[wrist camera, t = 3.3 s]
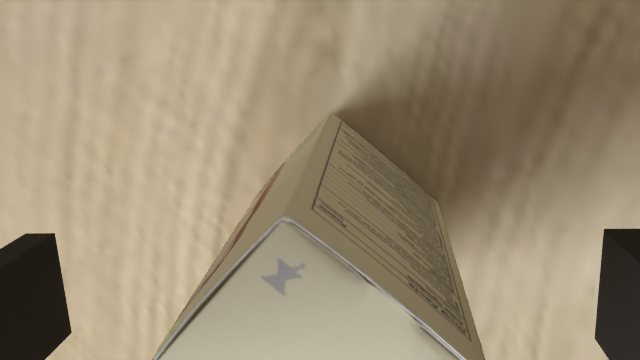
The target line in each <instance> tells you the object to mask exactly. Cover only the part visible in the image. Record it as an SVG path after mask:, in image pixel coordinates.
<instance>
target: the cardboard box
mask: <svg viewBox="0 0 640 360" xmlns="http://www.w3.org/2000/svg"><path fill="white" fill-rule="evenodd" d="M152 360H485V358H484V354H483V351H482V346H481V343H480V340H479V337H478V334H477V331H476V327H475V324H474V321H473V317H472V314H471V311H470V307H469V303H468V300H467V297H466V294H465V291H464V287H463V283H462V280H461V277H460V274H459V270H458V267H457V264H456V261H455V257H454V254H453V250H452V247H451V244H450V240H449V237H448V233H447V230H446V226H445V223H444V220H443V216H442V213H441V210H440V207H439V204H438V203H437V202H436V201H435V200H434V199H433V198H432V197H431V196H430V195H429V194H428V193H426V192H425V191H424V190H423V189H422V188H421V187H420V186H419V185H418V184H416V183H415V182H414V181H413V180H412V179H411V178H410V177H409V176H408V175H406V174H405V173H404V172H403V171H402V170H401V169H399V168H398V167H397V166H396V165H395V164H394V163H393V162H391V161H390V160H389V159H388V158H387V157H385V156H384V155H383V154H382V153H381V152H380V151H378V150H377V149H376V148H375V147H374V146H372V145H371V144H370V143H369V142H368V141H366V140H365V139H364V138H363V137H361V136H360V135H359V134H358V133H357V132H356V131H354V130H353V129H352V128H350V127H349V126H348V125H347V124H345V123H344V122H343V121H342V120H340V119H339V118H338V117H337V116H335V115H334V114H329V115H328V116H327V117H326V118H325V119H324V120H323V121H322V122H321V123H320V124H319V125H318V126H317V127H316V128H315V129H314V131H313V132H312V133H311V134H310V135H309V136H308V137H307V138H306V139H305V140H304V141H303V142H302V143H301V145H300V146H299V147H298V148H297V149H296V150H295V151H294V152H293V153H292V154H291V156H290V157H289V158H288V159H287V160H286V161H285V162H284V163H283V165H282V166H281V167H280V168H279V169H278V170H277V171H276V173H275V174H274V175H273V176H272V178H271V179H270V180H269V181H268V182H267V184H266V185H265V186H264V187H263V189H262V190H261V191H260V192H259V193H258V195H257V196H256V197H255V199H254V200H253V202H252V203H251V205H250V207H249V208H248V209H247V211H246V213H245V214H244V216H243V217H242V219H241V220H240V222H239V223H238V225H237V227H236V228H235V230H234V231H233V233H232V235H231V236H230V238H229V239H228V241H227V242H226V244H225V245H224V247H223V248H222V250H221V252H220V253H219V255H218V256H217V258H216V259H215V261H214V262H213V264H212V265H211V267H210V269H209V270H208V272H207V273H206V275H205V276H204V278H203V279H202V281H201V283H200V284H199V286H198V287H197V289H196V290H195V292H194V293H193V295H192V297H191V298H190V300H189V301H188V303H187V305H186V306H185V308H184V309H183V311H182V312H181V314H180V315H179V317H178V319H177V320H176V322H175V323H174V325H173V327H172V328H171V330H170V331H169V333H168V335H167V336H166V338H165V339H164V341H163V342H162V344H161V345H160V347H159V349H158V350H157V352H156V354H155V355H154V357H153V358H152Z"/></svg>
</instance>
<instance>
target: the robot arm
mask: <svg viewBox="0 0 640 360" xmlns="http://www.w3.org/2000/svg"><path fill="white" fill-rule="evenodd" d="M71 333H72V332H71V327H70V321H69V315H68V309H67V303H66V297H65V291H64V285H63V279H62V274H61V268H60V262H59V256H58V250H57V244H56V238H55V233H46V234H24V235H23V236H21V237H19V238H18V239H16V240H14V241H13V242H11V243H10V244H8V245H6V246H5V247H3V248H1V249H0V360H45V359H46V358H47V357H48V356H49V355H50V354H51V353H52V352H53V351H54V350H55V349H56V348H57V347H58V346H59V345H60V344H61V343H62V342H63V341H64V340H65V339H66V338H67V337H68V336H69V335H70V334H71ZM595 339H596V341H597V342H598V344H599V345H600V347H601V348H602V350H603V351H604V353H605V354H606V356H607V357H608V359H609V360H640V229H604V235H603V247H602V259H601V271H600V283H599V294H598V306H597V318H596V330H595Z"/></svg>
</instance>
